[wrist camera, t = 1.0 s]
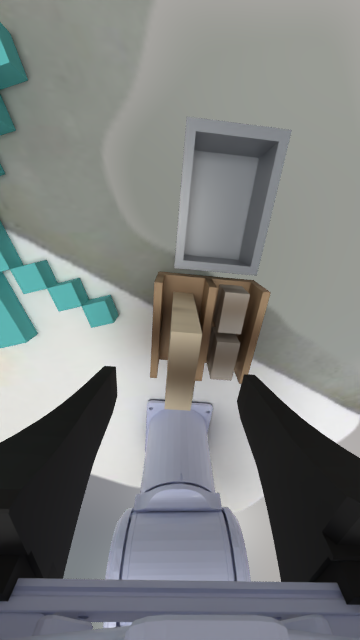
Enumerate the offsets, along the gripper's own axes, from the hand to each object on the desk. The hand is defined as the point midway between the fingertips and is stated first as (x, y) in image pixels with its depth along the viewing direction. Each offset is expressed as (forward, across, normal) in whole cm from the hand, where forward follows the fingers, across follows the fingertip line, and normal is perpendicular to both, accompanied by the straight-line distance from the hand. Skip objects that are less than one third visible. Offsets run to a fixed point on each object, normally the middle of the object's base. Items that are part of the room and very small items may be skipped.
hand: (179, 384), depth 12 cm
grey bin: (+10, -2, -10) cm, 14 cm away
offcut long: (+9, -4, +3) cm, 11 cm away
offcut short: (+9, -4, -2) cm, 11 cm away
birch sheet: (+9, 0, 0) cm, 9 cm away
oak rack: (+10, -2, 0) cm, 11 cm away
